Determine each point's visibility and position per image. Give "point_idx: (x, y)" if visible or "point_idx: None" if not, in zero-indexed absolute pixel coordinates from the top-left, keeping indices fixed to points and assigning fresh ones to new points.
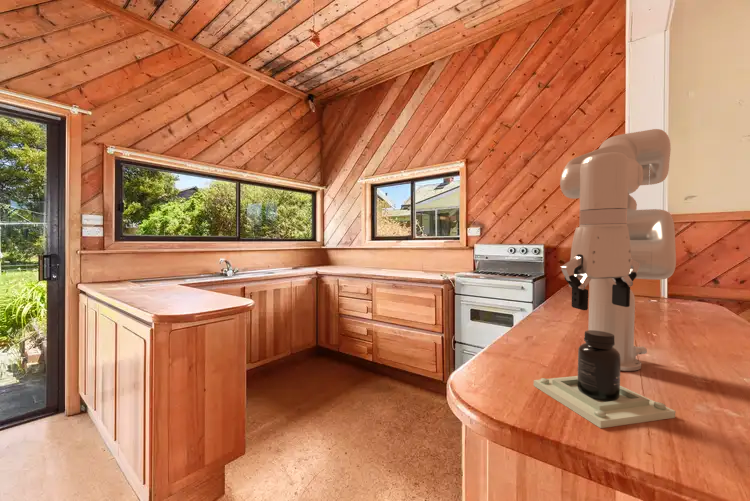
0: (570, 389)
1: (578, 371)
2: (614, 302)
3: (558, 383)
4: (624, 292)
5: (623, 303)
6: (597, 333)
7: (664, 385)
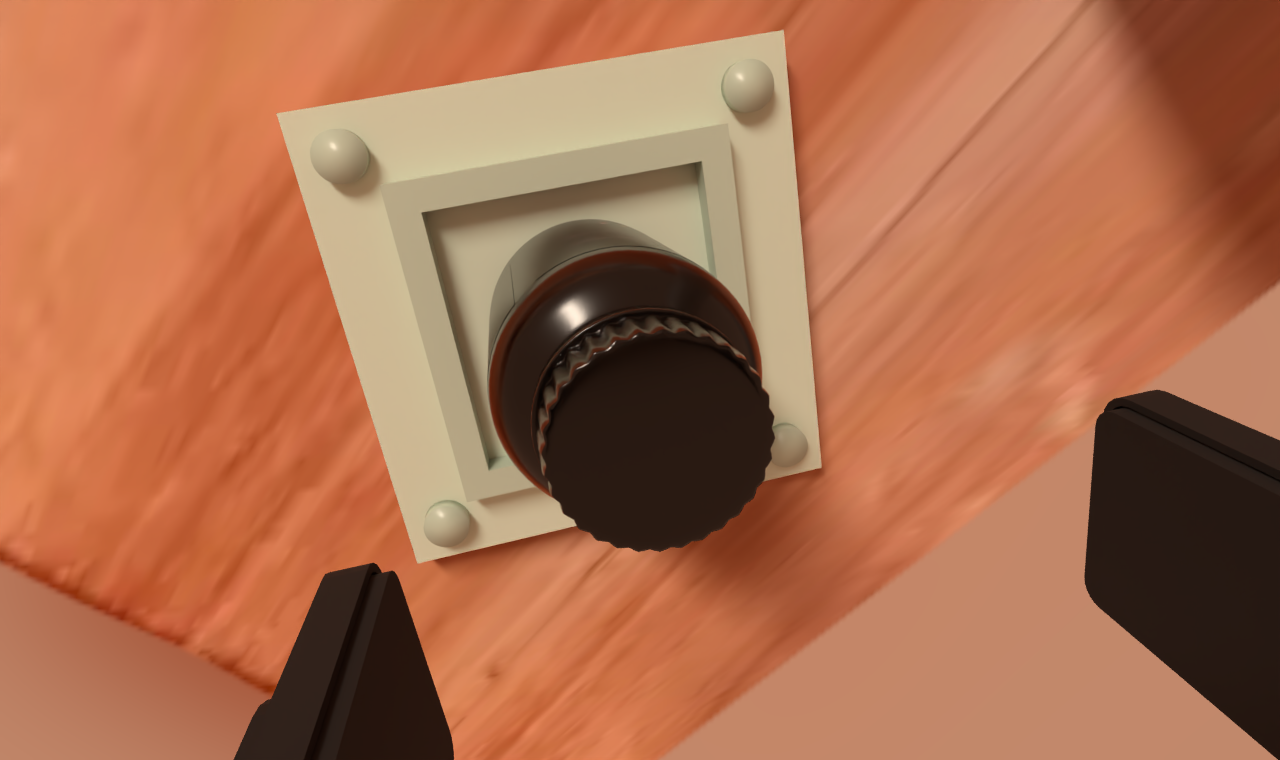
0: (421, 329)
1: (494, 308)
2: (1114, 451)
3: (395, 237)
4: (1273, 720)
5: (1111, 588)
6: (635, 458)
7: (1088, 140)
